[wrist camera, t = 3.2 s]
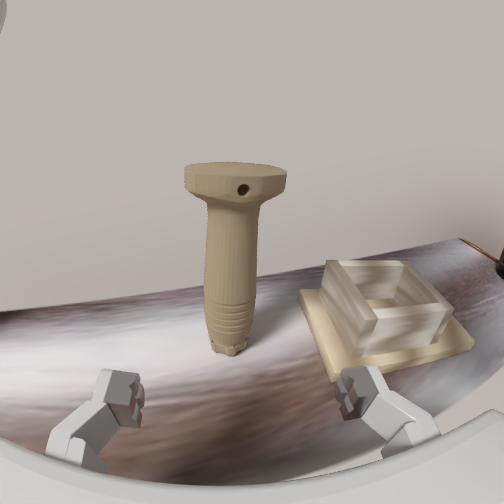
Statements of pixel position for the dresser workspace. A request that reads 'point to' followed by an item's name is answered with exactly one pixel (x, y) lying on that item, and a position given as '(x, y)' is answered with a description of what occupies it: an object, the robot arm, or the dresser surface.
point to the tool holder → (380, 317)
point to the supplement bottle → (501, 265)
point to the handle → (231, 243)
